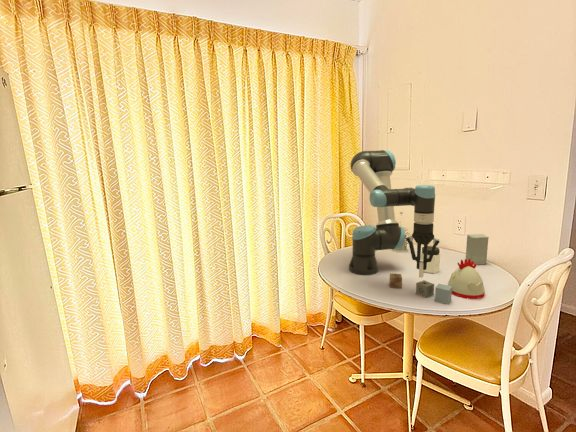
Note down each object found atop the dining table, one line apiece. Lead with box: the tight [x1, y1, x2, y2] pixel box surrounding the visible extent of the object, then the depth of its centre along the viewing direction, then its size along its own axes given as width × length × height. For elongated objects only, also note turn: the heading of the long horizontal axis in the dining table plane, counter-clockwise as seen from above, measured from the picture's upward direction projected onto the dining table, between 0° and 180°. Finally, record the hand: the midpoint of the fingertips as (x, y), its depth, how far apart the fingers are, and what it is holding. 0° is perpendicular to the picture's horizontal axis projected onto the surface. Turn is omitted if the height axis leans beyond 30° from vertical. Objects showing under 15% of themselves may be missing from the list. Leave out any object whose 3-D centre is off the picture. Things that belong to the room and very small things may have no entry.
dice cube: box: [415, 280, 435, 299], centre depth 129 cm, size 5×5×5 cm
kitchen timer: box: [447, 258, 485, 300], centre depth 129 cm, size 14×14×15 cm
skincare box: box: [465, 233, 489, 266], centre depth 163 cm, size 8×7×16 cm
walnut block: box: [389, 273, 403, 289], centre depth 139 cm, size 5×5×5 cm
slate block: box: [434, 283, 453, 305], centre depth 123 cm, size 5×5×6 cm
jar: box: [420, 245, 441, 274], centre depth 155 cm, size 9×8×12 cm
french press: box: [391, 211, 412, 254], centre depth 189 cm, size 10×12×25 cm
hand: (421, 276), depth 129 cm, fingers closed
